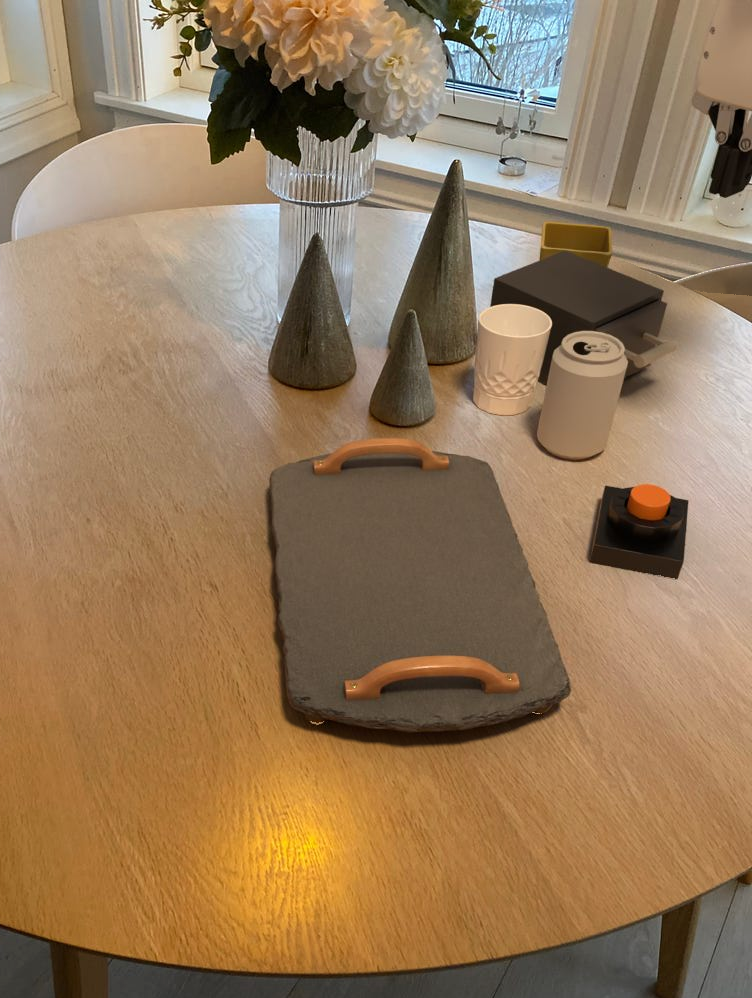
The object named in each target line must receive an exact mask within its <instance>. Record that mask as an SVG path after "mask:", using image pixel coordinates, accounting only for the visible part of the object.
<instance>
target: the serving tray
mask: <svg viewBox="0 0 752 998" xmlns="http://www.w3.org/2000/svg"><path fill="white" fill-rule="evenodd" d="M268 482H269V485H268V486H269V495H270V509H271V525H270V529H271V534H272V537H273V540H274V545H275V549H276V552H275V558H274V574H273V575H274V579H275V581H276V584H277V585H276V586H277V595H278V608H277V611H278V616H277V624H278V628H279V630H280V631H281V637H282V639H283V641H284V642H283V645H282V652H283V655H284V658H283V662H284V663H283V664H284V673H285V674H284V675H285V689H286V696H287V699H288V702H289V705H290V707H291V708H293V710H295V711H298V712H301V713H303V715H304V717H305V719H306V718H307V719H308V720H309V721H312V722H316V723H319V722H323V721H325V720H326V721H327V720H329V721H333V722H339V723H342V724H346V725H348V726H359V727H363V728H367V729H375V730H376V729H377V730H391V731H399V732H404V733H421V732H445V731H465V730H471V729H475V728H479V727H489V726H492V725H497V724H499V723H505V722H508V721H510V720H514V719H519V718H523V717H525V716H527V715H529V714H532V712H535V713H540V714H541V713H544V714H545V713H547V712H549V710H551V708H552V706H553V705H557V704H558V703H560V702H562V701H564V700H565V699H567V698H569V696H570V694H571V692H572V689H571V688H572V687H571V681H570V677H569V673H568V671H567V668H566V667H565V664H564V662H563V658H562V655H561V651H560V649H559V644H558V643H557V641H556V639H555V636H554V634H553V630H552V627H551V625H550V622H549V619H548V613H547V612H546V610H545V608H544V605H543V602H541V601H540V594H539V592H538V590H537V588H536V586H537V585H536V582H535V579H534V577H533V576H532V572H531V571H530V569H529V562H528V560H527V558H526V556H525V554H524V550H523V547H522V545H521V543H520V540H519V539H518V534H517V532H516V529H515V527H514V526H513V521H512V518H511V516H510V513H509V511H508V508H507V505H506V503H505V500H504V497H503V495H502V492H501V490H500V486H499V483H498V482H497V479H496V476H495V473H494V471H493V468H492V467H491V465H490V464H489V463H488V462H486V461H484V460H481V459H478V458H475V457H472V456H470V455H462V454H457V453H447V452H442V451H436V450H431V449H430V448H429V447H428V446H427V445H425V444H423V443H422V442H420V441H418V440H415V439H409V438H401V437H377V438H366V439H360V440H355V441H350V442H348V443H345V444H343V445H341V446H339V447H338V448H337V449H335V450H334V451H333V452H331V453H326V454H322V455H317V456H316V455H315V456H311V457H309V458H305V459H300V460H298V461H295V462H288V463H285V464H283V465H282V466H278V468H275V469H273V470H272V471H271V472H270V475H269V479H268ZM307 719H306V720H307ZM308 720H307V721H308ZM309 721H308V722H309ZM326 721H325V722H326Z"/></svg>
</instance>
